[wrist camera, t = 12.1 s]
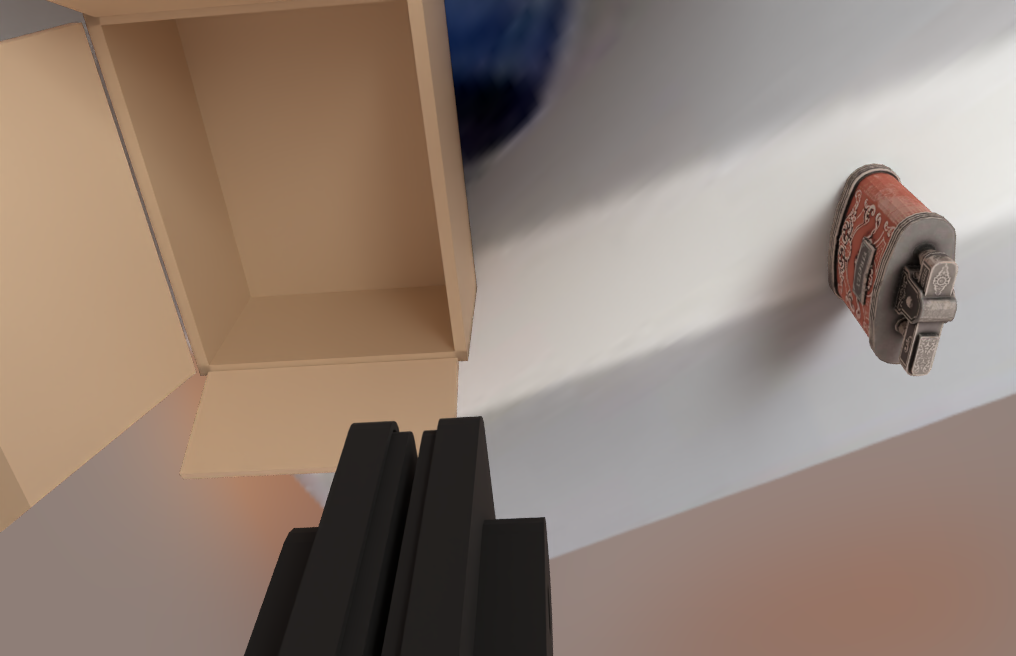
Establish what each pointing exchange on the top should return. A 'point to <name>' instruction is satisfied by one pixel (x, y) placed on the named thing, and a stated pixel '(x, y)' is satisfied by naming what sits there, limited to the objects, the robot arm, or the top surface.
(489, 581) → the robot arm
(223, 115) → the carton
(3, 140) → the lid flap
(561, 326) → the top surface
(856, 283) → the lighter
